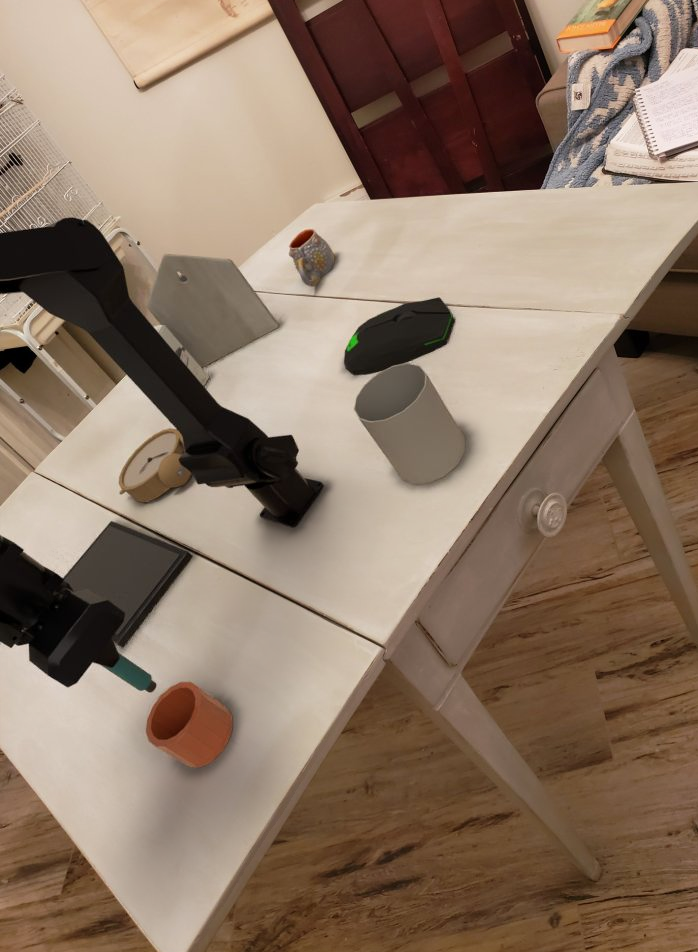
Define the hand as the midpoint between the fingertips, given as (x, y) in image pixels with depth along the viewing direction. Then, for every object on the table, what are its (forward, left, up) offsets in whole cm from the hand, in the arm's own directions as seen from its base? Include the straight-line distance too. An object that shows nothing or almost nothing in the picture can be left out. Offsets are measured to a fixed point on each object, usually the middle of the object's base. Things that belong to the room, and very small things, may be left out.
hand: (110, 658), depth 62 cm
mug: (+39, -68, -13) cm, 80 cm away
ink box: (+49, -40, -13) cm, 65 cm away
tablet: (+28, -8, -13) cm, 32 cm away
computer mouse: (+10, -53, -13) cm, 56 cm away
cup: (-7, -35, -13) cm, 38 cm away
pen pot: (-2, +1, -13) cm, 13 cm away
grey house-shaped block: (+47, -53, -13) cm, 72 cm away
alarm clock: (+35, -25, -13) cm, 45 cm away
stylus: (0, 0, -6) cm, 6 cm away
